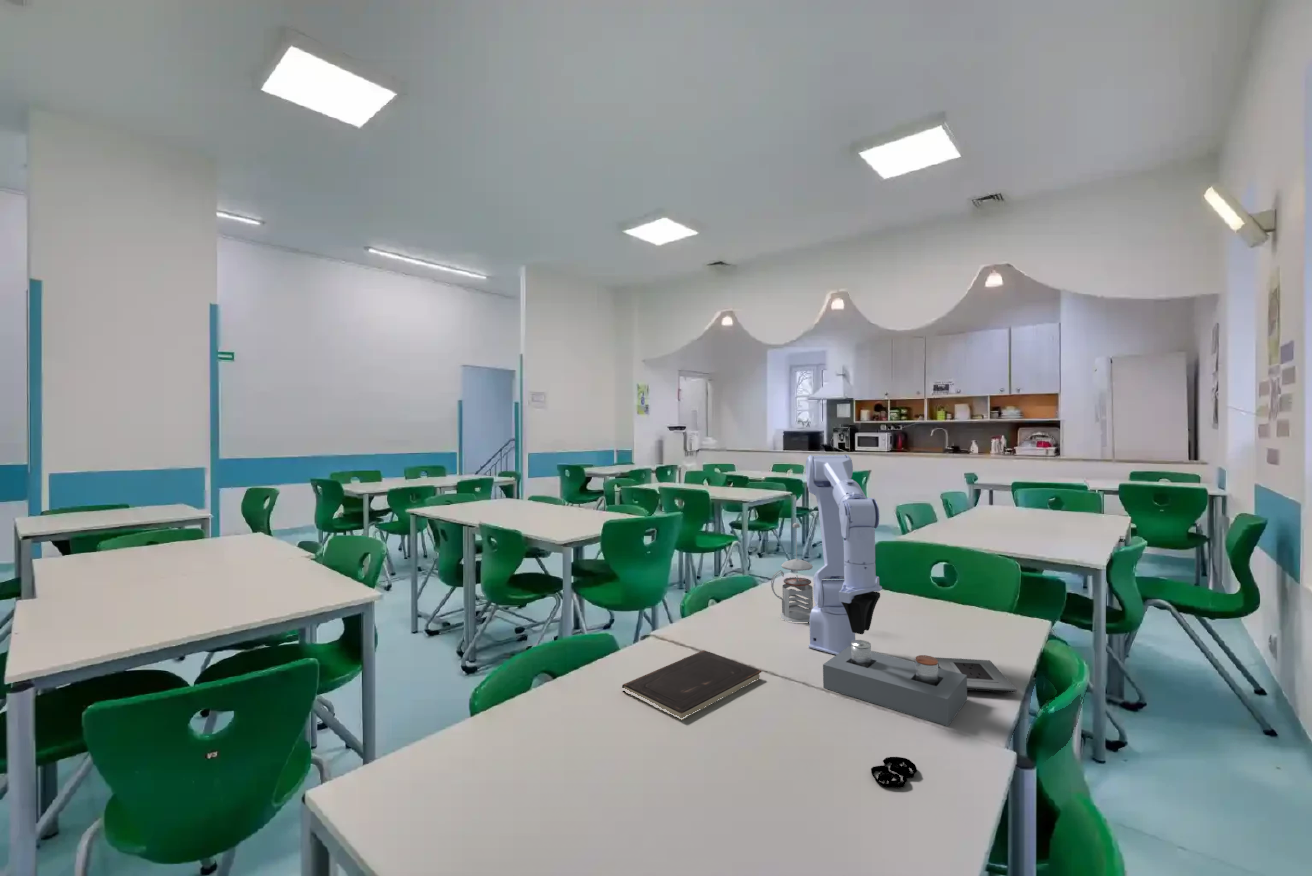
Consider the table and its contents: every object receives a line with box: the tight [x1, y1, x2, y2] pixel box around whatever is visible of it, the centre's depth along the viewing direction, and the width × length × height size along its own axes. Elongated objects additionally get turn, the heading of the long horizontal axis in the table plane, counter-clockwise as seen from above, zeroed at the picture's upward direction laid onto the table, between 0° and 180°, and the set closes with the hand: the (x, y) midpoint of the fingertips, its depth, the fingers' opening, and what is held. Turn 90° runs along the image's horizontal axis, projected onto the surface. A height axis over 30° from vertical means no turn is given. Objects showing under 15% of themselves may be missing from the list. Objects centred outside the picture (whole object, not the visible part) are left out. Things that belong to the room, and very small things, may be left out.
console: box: [822, 646, 968, 727], centre depth 106 cm, size 22×12×4 cm, turn 48°
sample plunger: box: [851, 639, 872, 668], centre depth 110 cm, size 4×4×5 cm
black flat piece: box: [870, 756, 918, 789], centre depth 81 cm, size 5×8×1 cm, turn 130°
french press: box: [770, 522, 814, 622], centre depth 149 cm, size 10×12×25 cm
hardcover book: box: [621, 649, 763, 718], centre depth 111 cm, size 16×23×2 cm
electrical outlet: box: [933, 656, 1018, 694], centre depth 110 cm, size 13×10×2 cm
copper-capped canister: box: [915, 654, 939, 686], centre depth 102 cm, size 4×4×5 cm
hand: (860, 631), depth 110 cm, fingers open, 2 cm apart
